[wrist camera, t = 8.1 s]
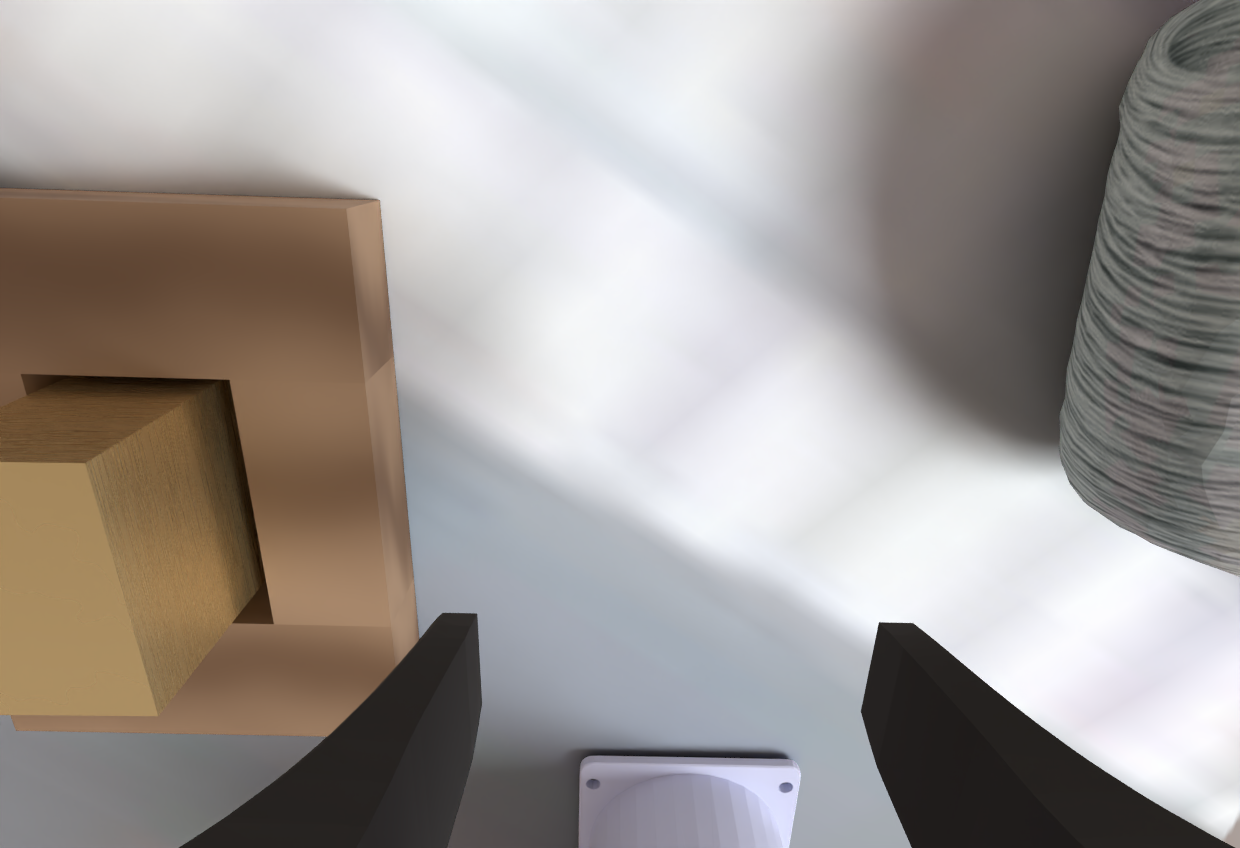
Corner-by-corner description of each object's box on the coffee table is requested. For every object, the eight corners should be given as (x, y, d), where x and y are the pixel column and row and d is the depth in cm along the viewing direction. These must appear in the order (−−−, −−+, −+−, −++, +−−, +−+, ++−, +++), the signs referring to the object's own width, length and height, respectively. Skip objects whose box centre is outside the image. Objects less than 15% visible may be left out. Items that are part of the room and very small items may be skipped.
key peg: (253, 359, 20) (85, 462, 14) (287, 551, 23) (158, 716, 16) (112, 357, 20) (-123, 459, 14) (162, 550, 23) (-19, 714, 16)
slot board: (423, 681, 25) (403, 737, 22) (73, 674, 24) (16, 730, 22) (379, 200, 19) (346, 208, 16) (-84, 185, 19) (-184, 191, 16)
